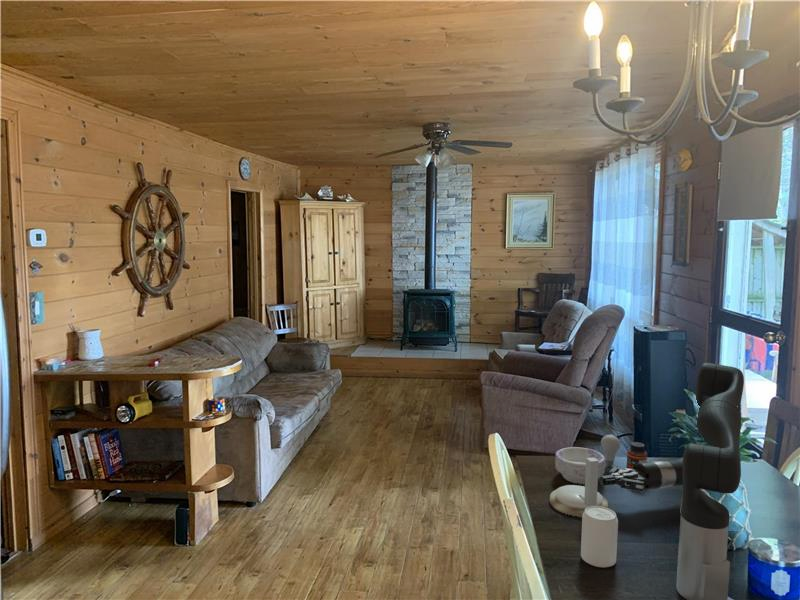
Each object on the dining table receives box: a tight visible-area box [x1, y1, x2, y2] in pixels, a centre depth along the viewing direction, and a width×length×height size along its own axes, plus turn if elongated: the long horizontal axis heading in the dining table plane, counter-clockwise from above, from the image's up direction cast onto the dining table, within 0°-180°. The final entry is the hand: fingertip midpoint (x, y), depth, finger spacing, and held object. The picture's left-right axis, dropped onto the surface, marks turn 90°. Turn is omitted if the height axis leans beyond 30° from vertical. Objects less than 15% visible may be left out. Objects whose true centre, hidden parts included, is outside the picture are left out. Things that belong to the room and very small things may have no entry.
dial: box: [555, 458, 603, 509], centre depth 167 cm, size 14×13×14 cm
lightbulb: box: [600, 434, 621, 468], centre depth 195 cm, size 6×6×11 cm
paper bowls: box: [554, 446, 606, 485], centre depth 186 cm, size 15×15×8 cm
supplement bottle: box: [626, 441, 648, 469], centre depth 186 cm, size 6×6×11 cm
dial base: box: [549, 489, 609, 518], centre depth 169 cm, size 16×16×2 cm
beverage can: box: [580, 506, 619, 568], centre depth 139 cm, size 8×8×12 cm
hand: (601, 481), depth 163 cm, fingers closed
